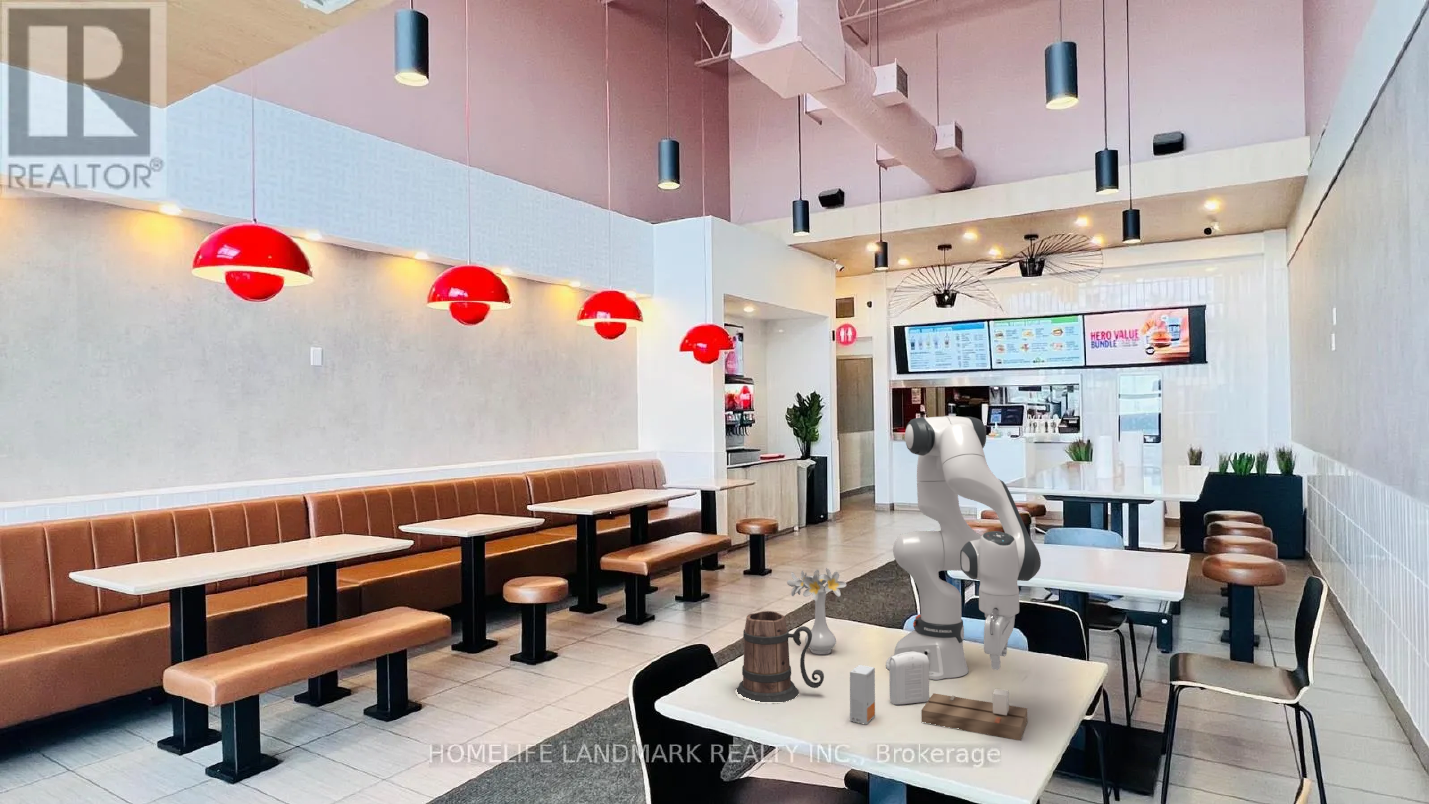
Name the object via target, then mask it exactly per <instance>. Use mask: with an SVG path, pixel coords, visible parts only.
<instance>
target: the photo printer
mask: <svg viewBox="0 0 1429 804" xmlns="http://www.w3.org/2000/svg"><path fill="white" fill-rule="evenodd" d="M890 657H891V656H890ZM888 671H889V678H888V679H889V701H890V703H891V704H892V705H906V704H907V705H908V704H915V703H925V702H926V703H927V702H928V700H929V699H930V679H929V660H928V657H927V655H925V654H922V653H919V652H905V653H900V654H897V655H895V656H893V657H891V658H890V662H889V669H888Z"/></svg>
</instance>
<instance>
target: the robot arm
mask: <svg viewBox="0 0 1429 804" xmlns="http://www.w3.org/2000/svg"><path fill="white" fill-rule="evenodd" d="M904 441H905V445H906V448H907V450H908V451H909V452H910V453H911V454H914V455H917V456H918V457H917V464H916V488H917V489H916V490H917V492H916V495H917V506H918V509H919V511H920V512H921V513H922V514H923V515H925V516H926V517H927V518H929V519H932V520H934V521H937V523H938V525H939V528H940V530H930V531H929V530H926V531H925V530H921V531H920V530H916V531H915V530H914V531H909V532H905V533H900V534H899V535H898V536H897V538H896V539H895V541H894V543H893V548H892V553H893V557H894V560H895V561H896V563H897V564H898V566H899V567H900V568H901V569H903V570H904V571H905V572H907V574H908V575H909V576H910V577H911V578H912V579H913V581H914V582H915V584H916V587H917V589H918V594H919V603H920V614H917V616H916V617H915V619H914V620H913V622H912V627H913V629H914V630H912V631H911V632H909V633H908V634H906V635H904V636H903V637H902V638H901V639H900V640H898V642H897V643H896V645H895V647H894V652H893V654H892V655H891V656H890V657H888V658H887V660H886V661H885V668H886V669H887V670H889V662H890V658H891V657H893V656H895V655H897V654H900V653H905V652H919V653H922V654H925V655H927V657H928V660H929V680H936V681H938V680H942V679H943V680H944V679H950V678H951V679H954V678H959V677H963V676H966V675H967V674H968V673H969V668H968V664H967V661H966V657H965V650H964V643H963V641H964V638H965V627H964V620H963V619H962V595H961V592H960V590H959V589H958V588H957V587H956V586H954V585H952V584H951V583H949V582H947V581H945V580H942V579H941V578H940V577H939V576H940V575H939V572H941V571H947V572H948V571H962V572H963V574H964V575H966V576H967V577H968V578H969V579H972V580H975V581H976V580H977V581H979V587H978V609H979V611H980V612H982V613H984V617H985V621H984V626H983V627H984V628H983V652H984V654H986V655H989V658H990V663H991V665H990V667H991V670H995V671H999V670H1000V669H1001V657H1003V658H1004V657H1006V656H1007V654H1008V642H1009V639H1010V637H1011V635H1012V633H1013V631H1014V627H1015V622H1016V621H1015V619H1016V615H1017V614H1019V613H1020V589H1019V584H1018V581H1020V582H1021V581H1022V582H1029V581H1030V580H1032V579H1033V578H1034V577H1035V576H1036V575H1037V574H1038V572H1039V571H1040V569H1041V567H1042V566H1041V564H1042V562H1041V561H1042V560H1041V555H1040V552H1039V549H1038V547H1037V545H1036V544H1035V542H1034V541H1033V540H1032V538H1031V537H1030V535H1029V533H1028V530H1027V528H1026V525H1025V524H1024V521H1023V519H1022V517H1021V514H1020V512H1019V510H1018V508H1017V505H1016V502H1015V500H1014V498H1013V496H1012V493H1011V491H1010V489H1009V488H1008V486H1007V484H1006V483H1005V482H1004V481H1003V480H1001V479H1000V478H998V477H997V476H996V475H995V474H994V472H993V471H992V470H991V469H990V467H989V465H988V463H987V459H986V455H985V452H984V448H985V446H986V444H987V442H986V441H987V430H986V427H985V424H984V423H983V421H982V420H981V419H979V418H977V417H973V416H955V415H944V416H930V417H924V416H921V417H916V418H913V419H910V421H909V422H908V423H907V424H906V427H905V432H904ZM959 497H962V498H964V499H967V500H971V501H974V502H977V503H980V504H983V505H984V506H987V507H989V509H991V510H993V511H994V512H995V514H996V515H997V517H998V519H999V522H1000V524H1001V526H1002V529H1003V531H1004V532H1002V531H995V530H992V531H987V532H985V533H982V535H981V534H979V533H978V532H976V530H974V529H973V528H972V527H971V526H970V525H969V524H968V523H967V521H966V519H965V518H964V515H963V514H962V511H961V508H960V507H961V506H960V501H959Z"/></svg>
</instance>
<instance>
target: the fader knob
mask: <svg viewBox="0 0 1429 804" xmlns="http://www.w3.org/2000/svg"><path fill="white" fill-rule="evenodd" d="M1009 697H1010V695H1009V690H1008V689H1007V690H1006V689H1000V688H995V689H994V690H993V692H992V703H993V713H996V714H1000V715H1007V713H1008V711H1009V705H1010V701H1009V700H1010V698H1009Z"/></svg>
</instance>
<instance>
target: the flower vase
mask: <svg viewBox="0 0 1429 804" xmlns="http://www.w3.org/2000/svg"><path fill="white" fill-rule="evenodd" d="M790 574H791V575H790V576H791V578H792V579H793V580H792V579H788V580H787V581H786V584H787V585H788V587H792V589H791V593H790V595H791V597H795V595H796V594H797V595H801V594H802V596H803V597H809V596H811V595H812V599H813V600H814V621H813V625H812V628H811V629H810V630H811V632H812V640H811V643H810V645H809V647H808V648H809V649H810V652H811V653H812V654H813V655H822V656H823V655H829V654H831V652H832V649H833V648H835V646H836V644H837V639H836V636H835V634H834V633H833V632H832V631H831V630H830V628H829V626H828V624H827V617H826V596H827V593H829V592H831V591H833V593H834V594H835V595H836V597H838V598H839V597H841V595H842V594H841V590H840V589H843V588H846V587H847V583H846V582H845V581H842V580H839V578H840V573H839V572H838V571H837V570H836V571H834V572H833V573H832V572H831V570H830V569H829V568H828V567H826V569H825V573H823V574H820V569H818V568H817V569H815V570H814V572H813V575H807V572H804V570H801V572H800V578H799V577H797V576H796V575H795V573H794V572H792V571H791V572H790ZM824 585H825V586H824ZM804 588H805V589H804ZM802 589H804V591H803V593H801V590H802ZM807 641H808V635H807V634H806V636H805V640H804V642H805V644H806V643H807Z"/></svg>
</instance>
